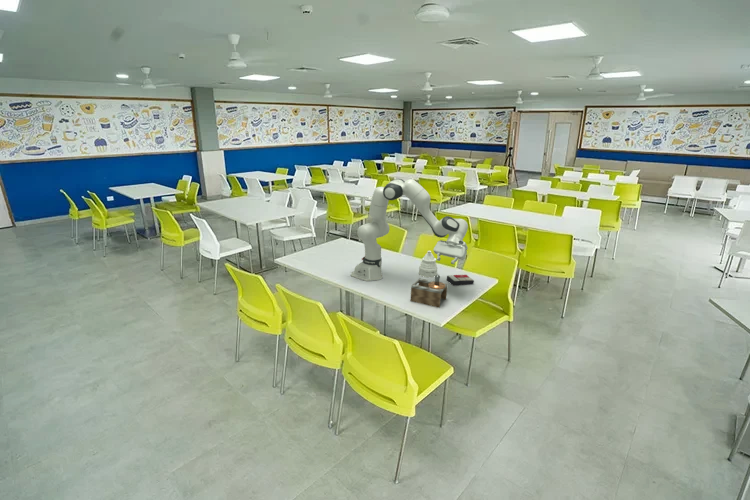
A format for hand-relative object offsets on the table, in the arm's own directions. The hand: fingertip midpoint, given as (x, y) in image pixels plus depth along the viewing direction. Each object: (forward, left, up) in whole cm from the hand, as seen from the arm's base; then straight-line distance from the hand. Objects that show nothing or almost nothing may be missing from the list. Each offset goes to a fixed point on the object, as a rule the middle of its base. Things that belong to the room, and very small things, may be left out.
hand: (445, 261), depth 230 cm
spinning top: (-2, -8, -18) cm, 20 cm away
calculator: (+3, +30, -24) cm, 39 cm away
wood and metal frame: (-6, -8, -23) cm, 25 cm away
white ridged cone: (-21, +34, -23) cm, 46 cm away
